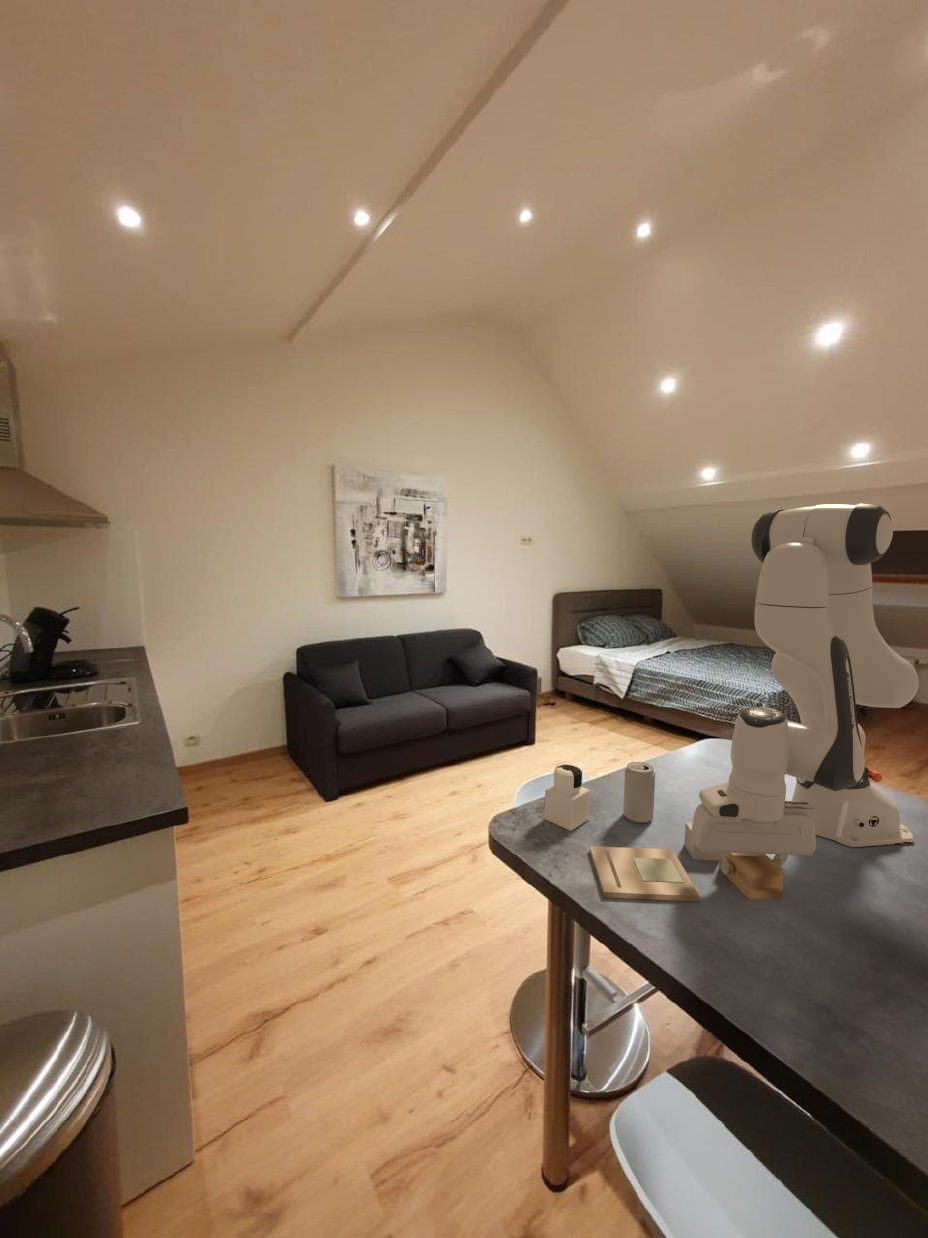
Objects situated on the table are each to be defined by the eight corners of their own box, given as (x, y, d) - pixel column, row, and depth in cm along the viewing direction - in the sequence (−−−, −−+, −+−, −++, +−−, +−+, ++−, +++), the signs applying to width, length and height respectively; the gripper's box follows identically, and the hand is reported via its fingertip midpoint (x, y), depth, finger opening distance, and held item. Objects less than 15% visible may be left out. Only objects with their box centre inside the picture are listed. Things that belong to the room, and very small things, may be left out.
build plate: (672, 854, 103) (672, 849, 103) (699, 901, 89) (699, 895, 89) (589, 851, 104) (589, 846, 104) (603, 897, 90) (604, 891, 90)
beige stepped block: (562, 808, 121) (564, 759, 120) (589, 820, 116) (591, 768, 115) (543, 819, 116) (545, 768, 115) (571, 832, 111) (572, 778, 110)
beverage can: (655, 826, 114) (657, 773, 112) (624, 823, 115) (626, 771, 113) (650, 812, 120) (653, 761, 118) (621, 809, 121) (623, 759, 119)
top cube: (709, 846, 106) (710, 823, 106) (719, 861, 101) (721, 836, 101) (684, 845, 107) (685, 822, 106) (693, 860, 102) (694, 835, 101)
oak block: (748, 866, 99) (750, 841, 99) (781, 897, 91) (784, 870, 90) (718, 868, 99) (720, 843, 98) (749, 899, 90) (751, 872, 89)
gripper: (806, 794, 95) (799, 865, 97) (690, 790, 96) (686, 860, 98) (828, 811, 89) (820, 886, 91) (703, 807, 90) (698, 881, 92)
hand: (749, 873), depth 94 cm, fingers closed on oak block, 6 cm apart
